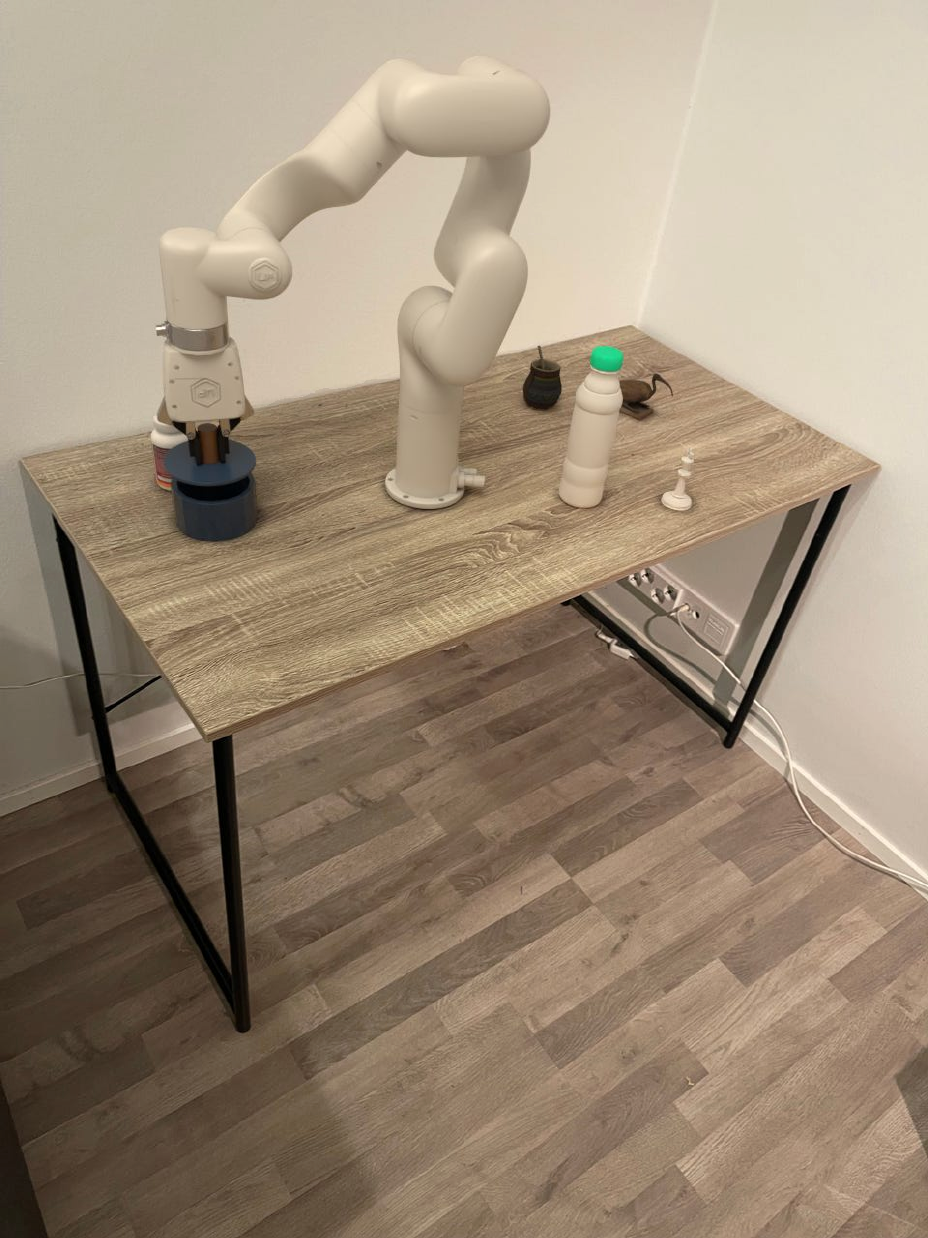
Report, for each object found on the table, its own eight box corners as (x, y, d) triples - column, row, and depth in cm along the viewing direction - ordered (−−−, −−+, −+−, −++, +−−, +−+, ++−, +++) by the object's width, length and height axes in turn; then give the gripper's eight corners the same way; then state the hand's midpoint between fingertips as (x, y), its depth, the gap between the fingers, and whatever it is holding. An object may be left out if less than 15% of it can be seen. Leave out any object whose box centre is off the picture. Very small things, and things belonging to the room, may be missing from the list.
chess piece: (673, 513, 149) (688, 458, 143) (655, 497, 153) (668, 443, 146) (697, 507, 151) (713, 453, 145) (678, 492, 155) (693, 438, 148)
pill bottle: (204, 487, 143) (198, 422, 136) (165, 496, 140) (156, 431, 133) (189, 468, 147) (182, 404, 140) (151, 477, 144) (141, 412, 137)
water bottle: (605, 492, 152) (636, 346, 136) (596, 514, 147) (627, 365, 131) (563, 482, 154) (590, 336, 138) (553, 503, 148) (579, 354, 133)
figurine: (672, 422, 174) (683, 378, 169) (658, 429, 171) (669, 385, 166) (611, 394, 181) (620, 352, 175) (597, 401, 178) (606, 358, 173)
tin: (263, 500, 142) (261, 464, 138) (249, 544, 133) (246, 507, 129) (186, 494, 141) (182, 458, 137) (167, 538, 132) (161, 500, 128)
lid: (263, 448, 137) (261, 410, 133) (247, 493, 127) (244, 454, 123) (176, 440, 136) (172, 402, 132) (153, 485, 126) (148, 445, 122)
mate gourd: (534, 416, 171) (541, 365, 165) (512, 398, 176) (518, 348, 169) (566, 410, 174) (574, 359, 168) (543, 392, 179) (551, 342, 173)
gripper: (134, 347, 114) (152, 478, 125) (267, 341, 119) (273, 467, 131) (129, 323, 119) (147, 450, 131) (257, 318, 124) (263, 441, 136)
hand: (210, 457), depth 131 cm, fingers closed on lid, 2 cm apart
